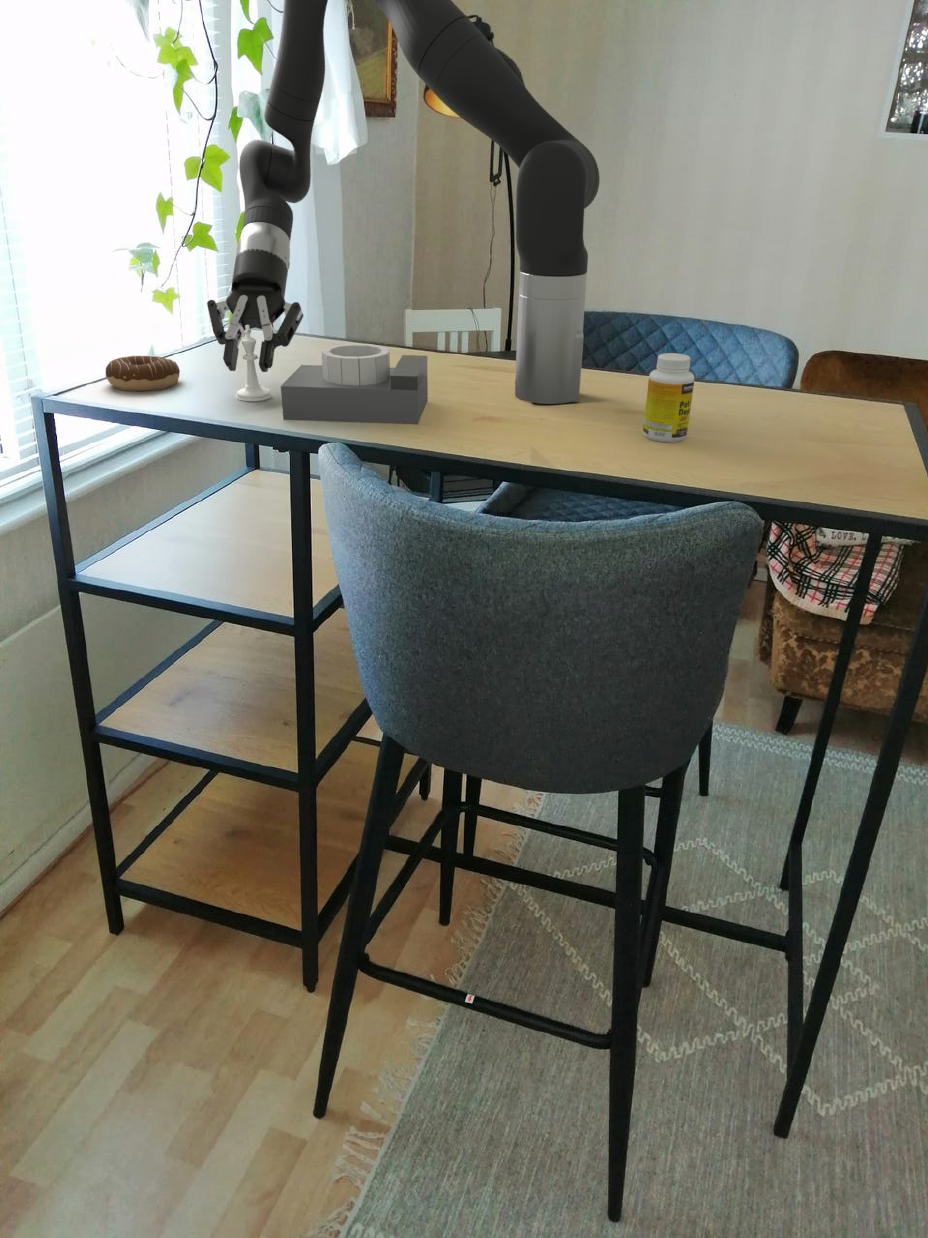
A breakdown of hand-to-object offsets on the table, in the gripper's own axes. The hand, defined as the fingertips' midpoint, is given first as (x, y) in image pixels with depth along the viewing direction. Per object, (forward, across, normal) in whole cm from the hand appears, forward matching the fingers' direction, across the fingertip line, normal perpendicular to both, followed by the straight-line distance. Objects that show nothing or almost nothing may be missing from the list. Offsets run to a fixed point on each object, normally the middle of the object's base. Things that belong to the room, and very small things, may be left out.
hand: (247, 367), depth 130 cm
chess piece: (+2, 0, +5) cm, 5 cm away
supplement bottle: (+11, +57, -4) cm, 58 cm away
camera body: (+5, +16, +1) cm, 17 cm away
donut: (-1, -18, +8) cm, 20 cm away
